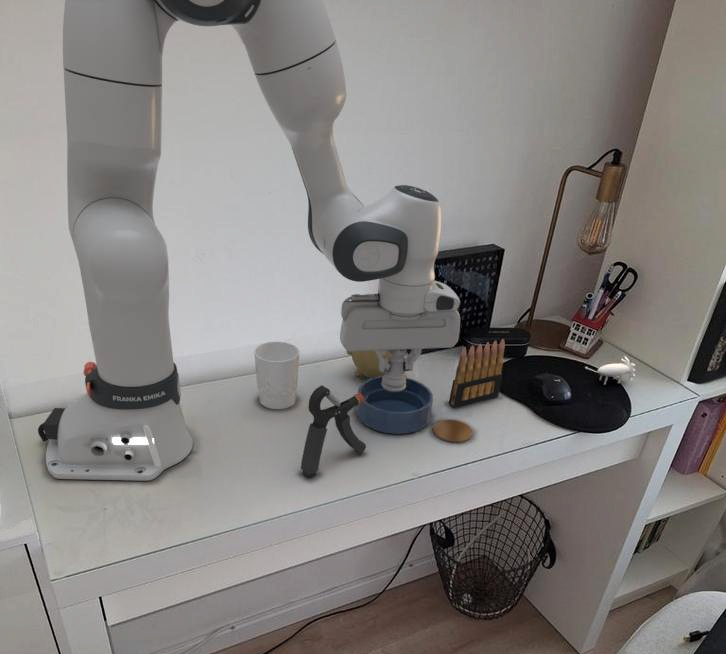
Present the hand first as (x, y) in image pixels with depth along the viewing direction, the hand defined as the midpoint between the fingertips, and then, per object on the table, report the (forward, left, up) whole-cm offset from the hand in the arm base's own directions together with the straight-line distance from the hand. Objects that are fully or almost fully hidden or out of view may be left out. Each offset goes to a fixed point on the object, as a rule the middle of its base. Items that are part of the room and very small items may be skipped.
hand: (395, 370), depth 119 cm
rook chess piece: (0, 0, -4) cm, 4 cm away
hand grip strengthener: (-13, -13, -9) cm, 21 cm away
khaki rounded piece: (+1, +15, -9) cm, 18 cm away
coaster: (+9, -7, -9) cm, 15 cm away
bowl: (0, 0, -9) cm, 9 cm away
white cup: (-20, +8, -10) cm, 23 cm away
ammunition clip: (+17, +3, -10) cm, 20 cm away
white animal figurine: (+48, +6, -9) cm, 49 cm away
